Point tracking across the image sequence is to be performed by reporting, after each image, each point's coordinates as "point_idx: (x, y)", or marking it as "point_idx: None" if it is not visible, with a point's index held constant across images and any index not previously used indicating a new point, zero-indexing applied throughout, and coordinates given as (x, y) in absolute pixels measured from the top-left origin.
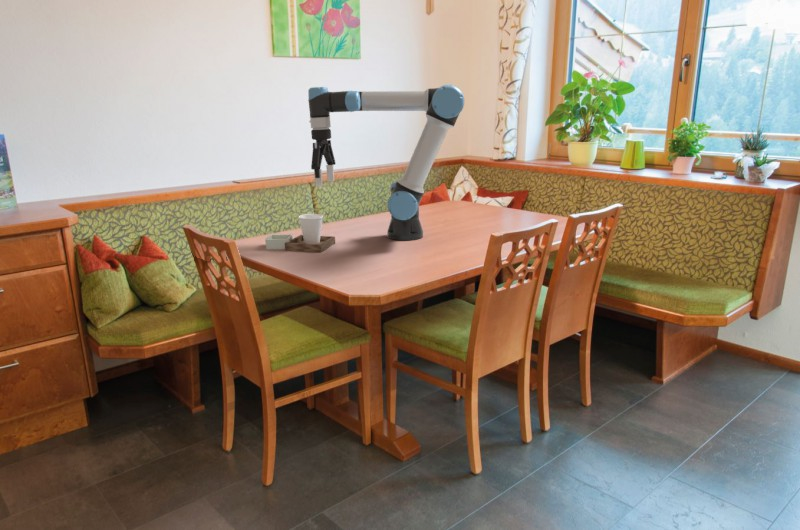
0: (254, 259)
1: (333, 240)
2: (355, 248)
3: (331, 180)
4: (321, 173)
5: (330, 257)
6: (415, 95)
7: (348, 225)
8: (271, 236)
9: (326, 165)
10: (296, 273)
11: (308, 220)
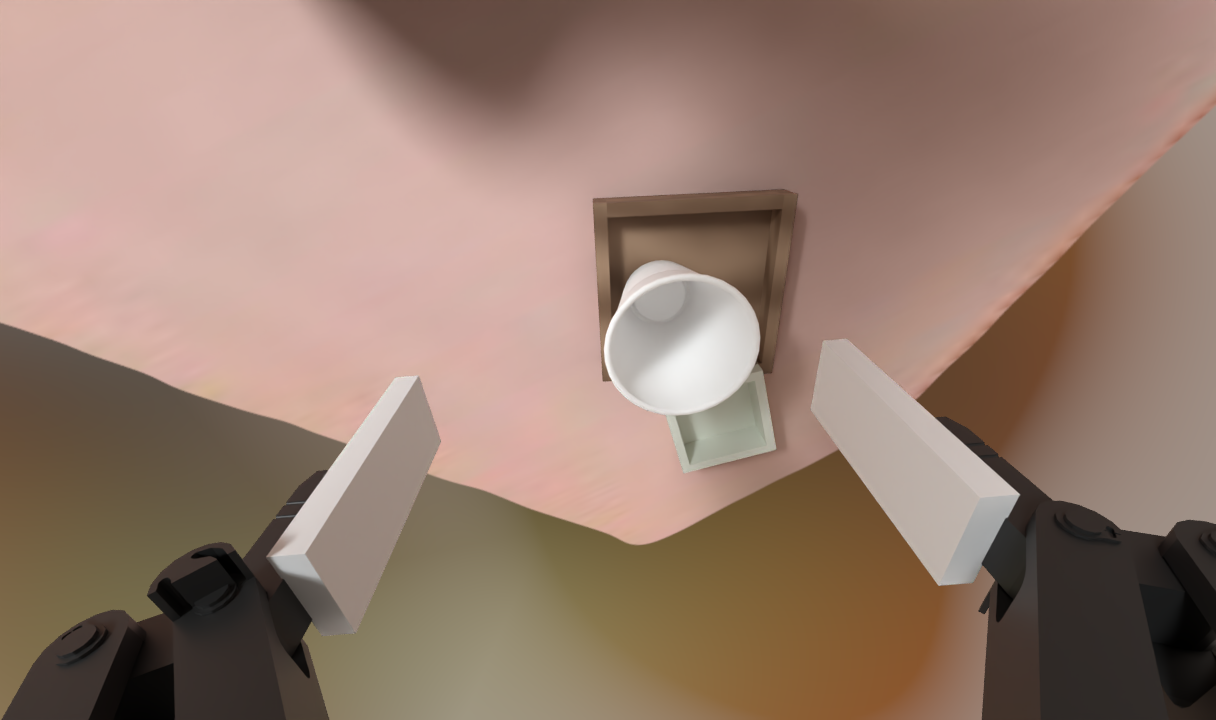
0: (911, 393)
1: (616, 200)
2: (674, 24)
3: (423, 406)
4: (935, 440)
5: (882, 91)
6: None
7: (193, 303)
8: (697, 459)
9: (357, 627)
10: (1166, 128)
11: (751, 329)
